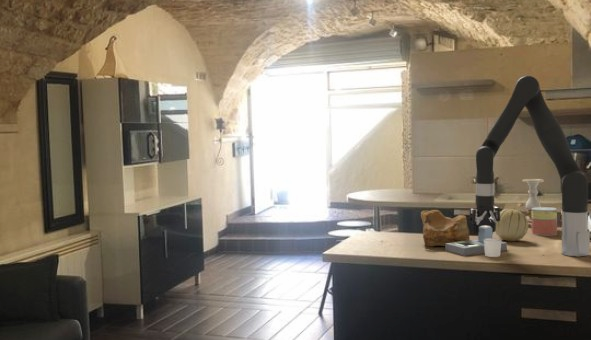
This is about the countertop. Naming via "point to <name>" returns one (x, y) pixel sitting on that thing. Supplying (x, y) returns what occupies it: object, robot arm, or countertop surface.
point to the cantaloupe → (511, 225)
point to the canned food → (544, 221)
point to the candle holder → (532, 198)
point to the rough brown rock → (443, 228)
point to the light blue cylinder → (484, 233)
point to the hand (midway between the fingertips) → (484, 232)
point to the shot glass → (492, 247)
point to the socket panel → (469, 247)
